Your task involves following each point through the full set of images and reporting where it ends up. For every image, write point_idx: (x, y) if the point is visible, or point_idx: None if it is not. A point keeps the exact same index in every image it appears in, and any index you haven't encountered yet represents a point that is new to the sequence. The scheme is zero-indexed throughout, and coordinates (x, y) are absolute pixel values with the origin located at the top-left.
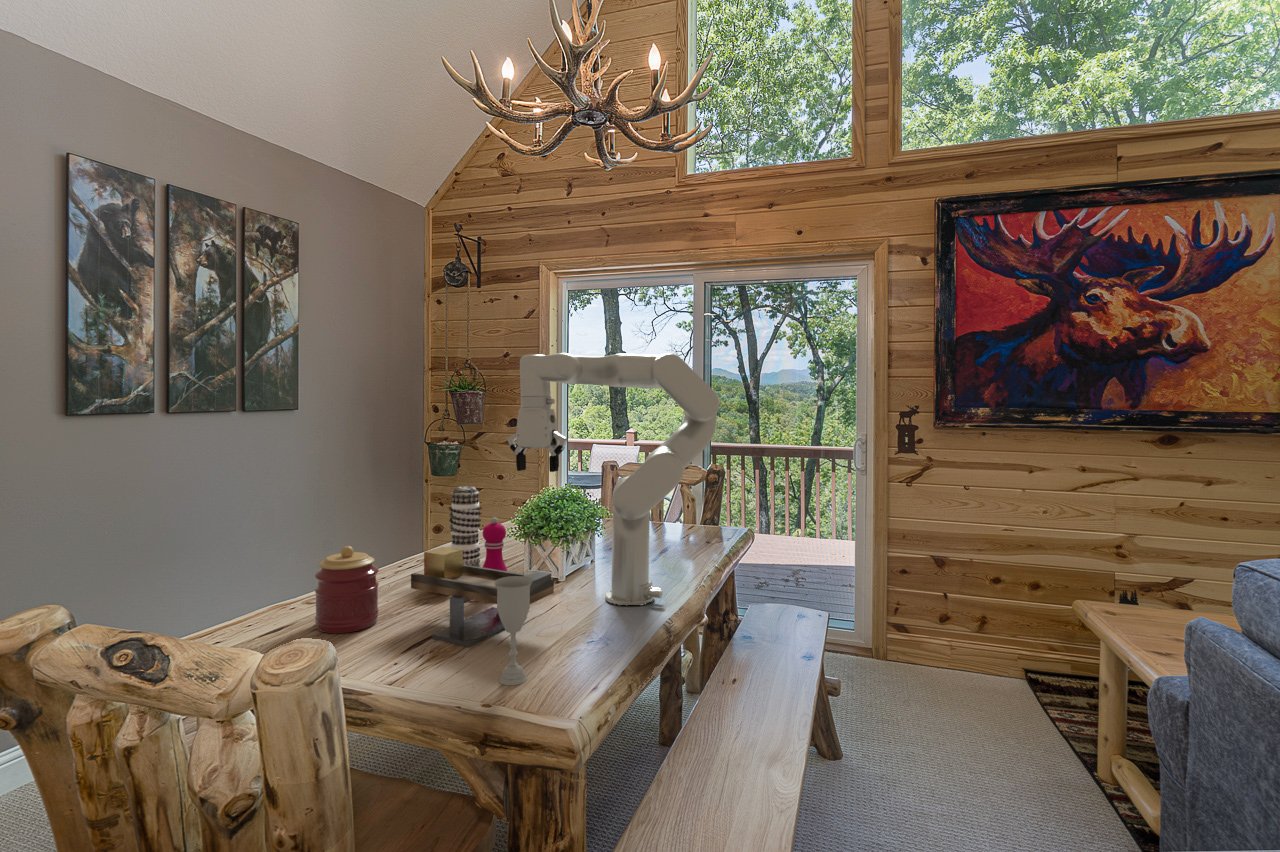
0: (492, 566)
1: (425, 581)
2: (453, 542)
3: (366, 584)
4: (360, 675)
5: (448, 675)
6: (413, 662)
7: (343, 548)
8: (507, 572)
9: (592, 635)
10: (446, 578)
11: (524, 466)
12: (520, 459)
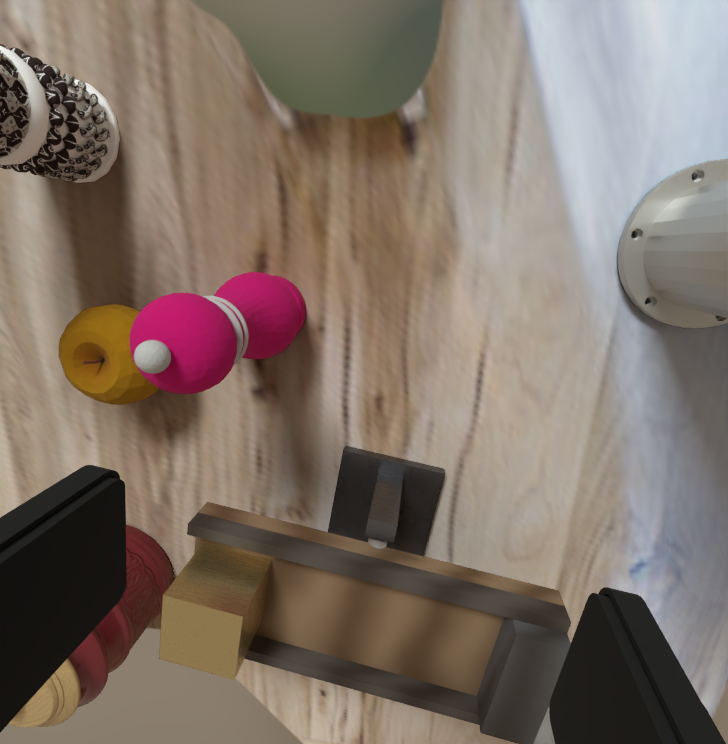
0: (253, 353)
1: None
2: None
3: (116, 652)
4: (301, 729)
5: (426, 718)
6: None
7: None
8: (409, 589)
9: (634, 536)
10: (262, 614)
11: (95, 528)
12: (5, 703)
